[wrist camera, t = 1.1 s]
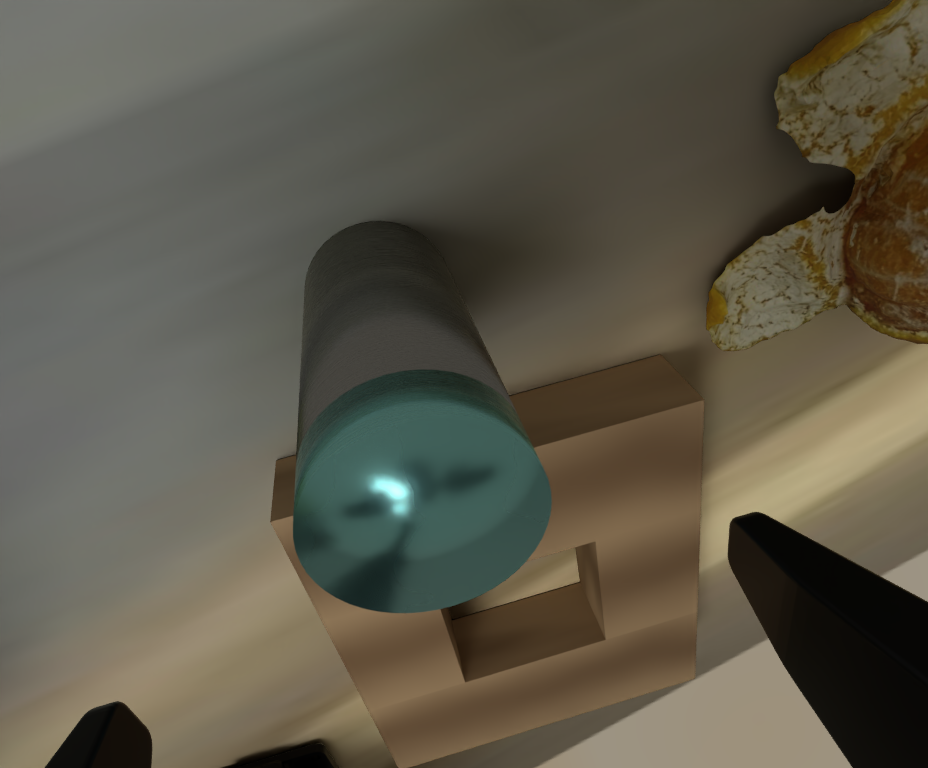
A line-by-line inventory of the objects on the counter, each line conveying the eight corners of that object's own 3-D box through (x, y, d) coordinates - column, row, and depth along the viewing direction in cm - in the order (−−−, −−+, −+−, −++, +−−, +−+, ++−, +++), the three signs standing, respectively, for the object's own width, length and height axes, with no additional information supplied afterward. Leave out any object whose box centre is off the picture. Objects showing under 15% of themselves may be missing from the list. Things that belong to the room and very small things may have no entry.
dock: (664, 623, 31) (695, 678, 28) (392, 706, 30) (399, 770, 28) (660, 354, 22) (704, 399, 20) (276, 460, 21) (270, 521, 19)
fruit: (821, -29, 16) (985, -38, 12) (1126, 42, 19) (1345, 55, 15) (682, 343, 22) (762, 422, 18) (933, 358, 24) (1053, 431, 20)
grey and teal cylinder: (462, 336, 20) (563, 573, 12) (330, 371, 20) (339, 639, 12) (433, 204, 18) (534, 386, 9) (283, 243, 17) (250, 464, 9)
